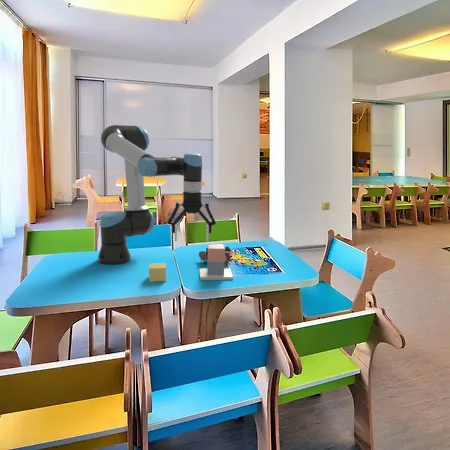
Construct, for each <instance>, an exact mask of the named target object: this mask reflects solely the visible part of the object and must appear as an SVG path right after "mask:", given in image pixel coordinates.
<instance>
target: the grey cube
mask: <svg viewBox="0 0 450 450" xmlns="http://www.w3.org/2000/svg"><path fill="white" fill-rule="evenodd" d="M206 261H207V262H206V263H207V264H206V266H207V267H206V268H207V271H208V275H224V268H225V263H224V262H208V257H207V260H206Z"/></svg>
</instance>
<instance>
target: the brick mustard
mask: <svg viewBox="0 0 450 450" xmlns="http://www.w3.org/2000/svg"><path fill="white" fill-rule="evenodd" d="M155 281H164V282H167V262H157V263H156V262H154V263H153V262H151V263H149V267H148V282H150V283H154V282H155Z"/></svg>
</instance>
